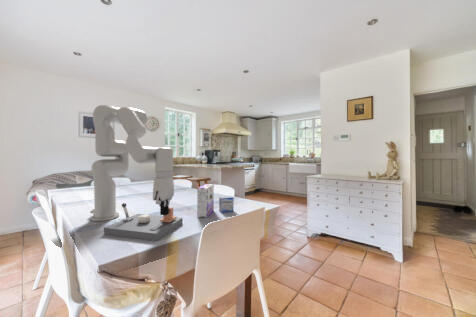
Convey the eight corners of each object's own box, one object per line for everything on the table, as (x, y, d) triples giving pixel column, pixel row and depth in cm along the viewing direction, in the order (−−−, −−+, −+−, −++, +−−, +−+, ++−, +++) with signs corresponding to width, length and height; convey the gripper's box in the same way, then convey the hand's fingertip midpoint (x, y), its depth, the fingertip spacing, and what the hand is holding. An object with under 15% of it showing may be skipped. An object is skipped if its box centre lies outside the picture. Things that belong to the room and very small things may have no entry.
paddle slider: (159, 221, 89) (159, 209, 89) (167, 217, 95) (167, 205, 95) (169, 222, 88) (169, 209, 88) (176, 218, 94) (176, 206, 94)
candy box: (204, 210, 120) (204, 183, 120) (213, 210, 120) (214, 184, 119) (197, 217, 107) (197, 187, 106) (207, 217, 106) (207, 187, 106)
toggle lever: (124, 219, 92) (120, 204, 92) (127, 217, 94) (123, 203, 94) (127, 218, 91) (123, 203, 92) (131, 216, 93) (126, 202, 94)
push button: (135, 222, 88) (135, 217, 88) (143, 219, 93) (143, 214, 93) (145, 223, 87) (145, 218, 87) (152, 220, 92) (152, 215, 92)
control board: (103, 234, 83) (103, 226, 83) (138, 219, 103) (138, 212, 103) (156, 241, 77) (156, 231, 77) (182, 223, 97) (182, 216, 97)
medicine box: (221, 213, 115) (221, 198, 115) (219, 210, 119) (219, 196, 119) (233, 211, 118) (233, 197, 118) (231, 209, 122) (231, 195, 122)
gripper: (166, 172, 97) (166, 209, 97) (145, 176, 82) (146, 219, 82) (180, 173, 95) (180, 210, 95) (161, 176, 80) (161, 220, 81)
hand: (164, 214), depth 89 cm, fingers closed
